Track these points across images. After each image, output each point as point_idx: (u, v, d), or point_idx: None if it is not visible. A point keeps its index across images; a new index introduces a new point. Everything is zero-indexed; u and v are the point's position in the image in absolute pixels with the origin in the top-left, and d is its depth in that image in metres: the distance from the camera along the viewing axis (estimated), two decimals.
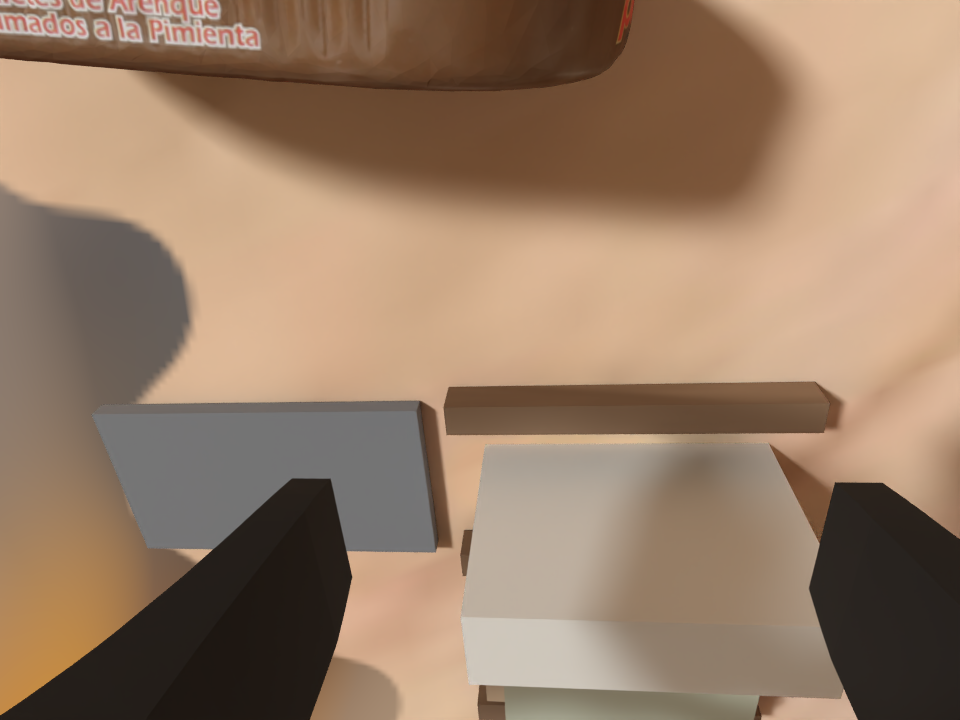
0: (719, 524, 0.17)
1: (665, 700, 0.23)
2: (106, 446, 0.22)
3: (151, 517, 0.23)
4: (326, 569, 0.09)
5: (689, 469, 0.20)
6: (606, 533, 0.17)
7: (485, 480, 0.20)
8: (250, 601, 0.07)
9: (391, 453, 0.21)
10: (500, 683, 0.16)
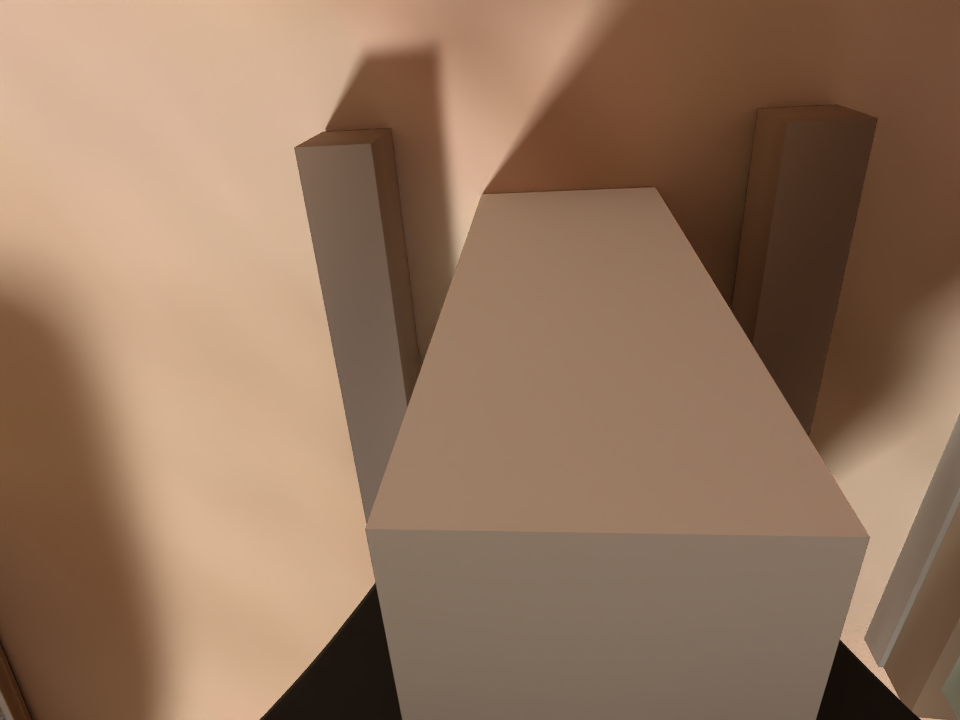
0: None
1: None
2: None
3: None
4: None
5: None
6: None
7: None
8: None
9: None
10: None
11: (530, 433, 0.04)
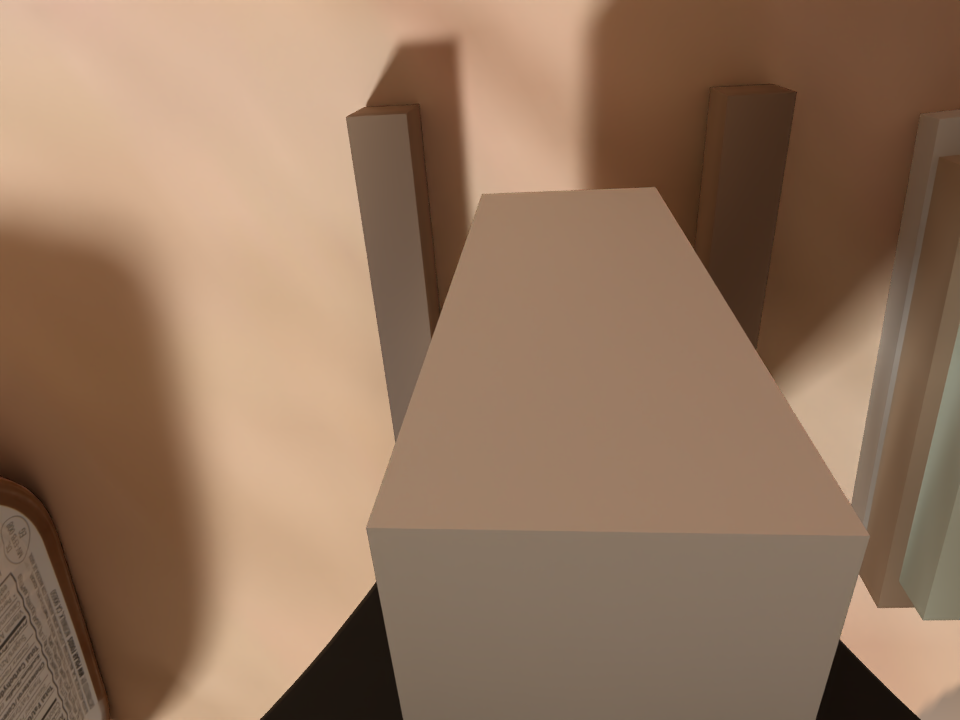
0: None
1: None
2: None
3: None
4: None
5: None
6: None
7: None
8: None
9: None
10: None
11: (530, 431, 0.04)
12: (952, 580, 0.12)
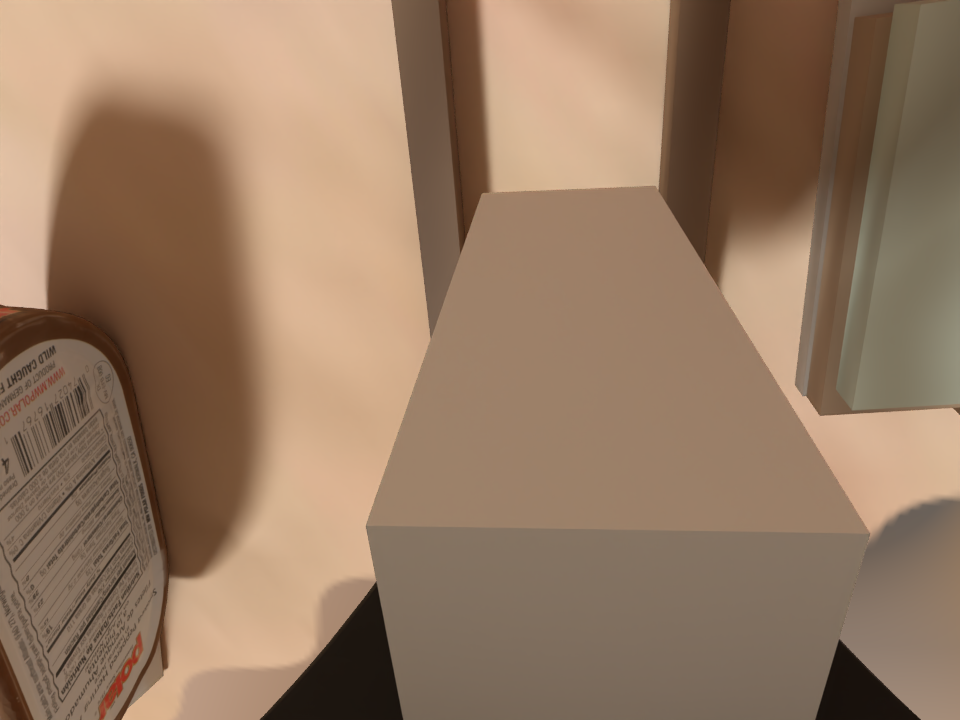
0: None
1: (957, 170, 0.13)
2: None
3: None
4: None
5: None
6: None
7: None
8: None
9: None
10: None
11: (530, 429, 0.04)
12: (873, 370, 0.15)
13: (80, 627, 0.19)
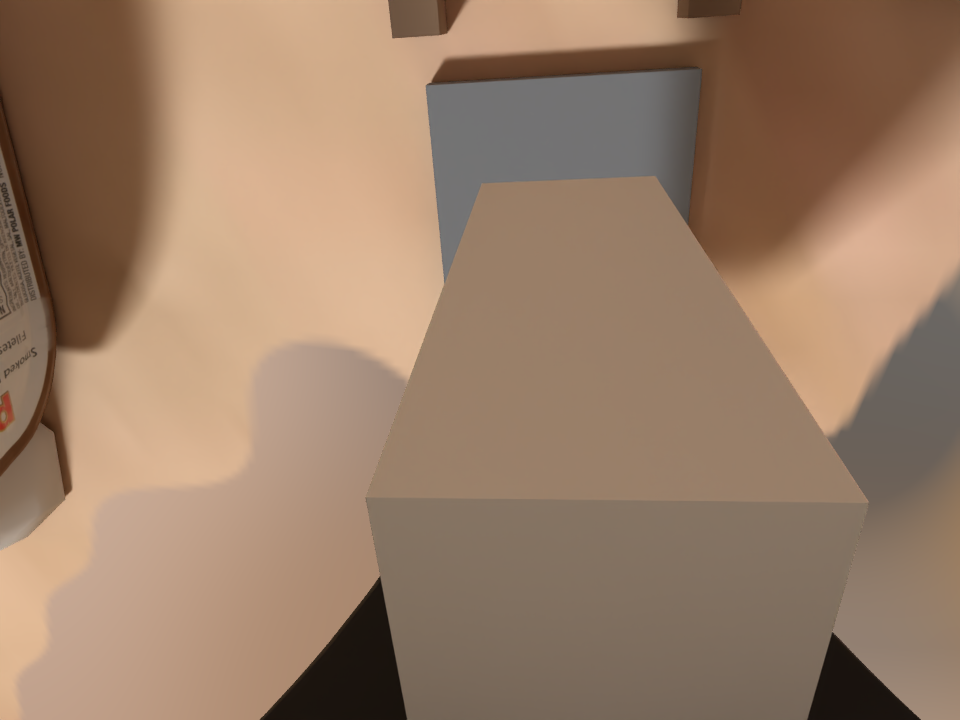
0: None
1: None
2: None
3: None
4: None
5: None
6: None
7: None
8: None
9: (500, 129, 0.15)
10: None
11: (530, 405, 0.04)
12: None
13: None
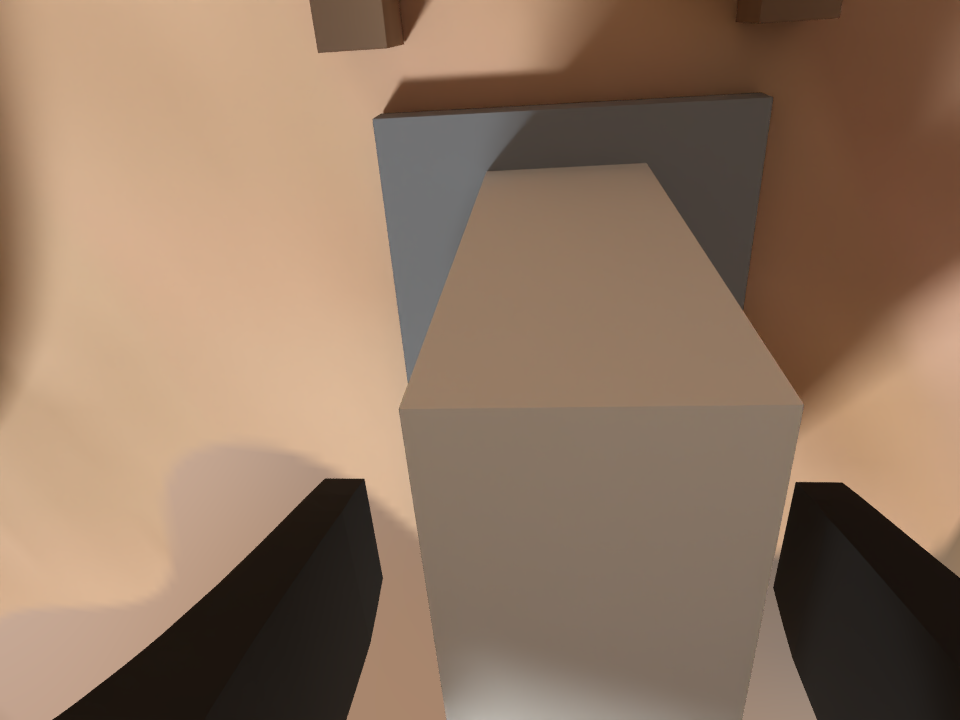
0: None
1: None
2: None
3: None
4: (360, 570, 0.09)
5: None
6: None
7: None
8: (294, 601, 0.07)
9: (480, 180, 0.10)
10: None
11: (531, 344, 0.05)
12: None
13: None
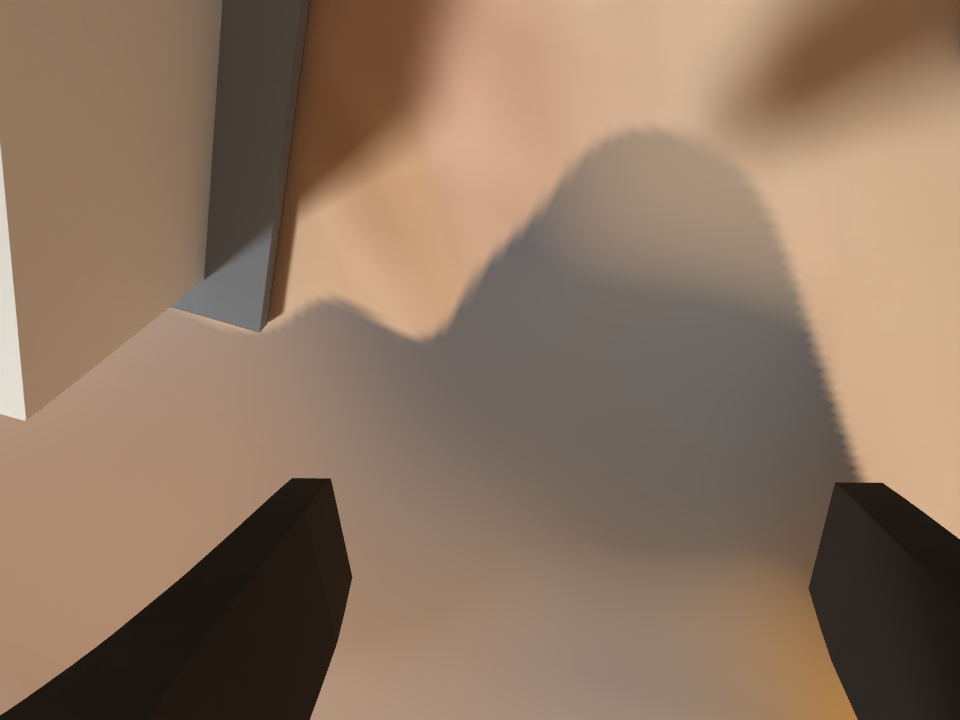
0: None
1: None
2: None
3: (208, 297, 0.18)
4: (326, 569, 0.09)
5: None
6: None
7: None
8: (250, 600, 0.07)
9: None
10: (18, 383, 0.11)
11: None
12: None
13: None
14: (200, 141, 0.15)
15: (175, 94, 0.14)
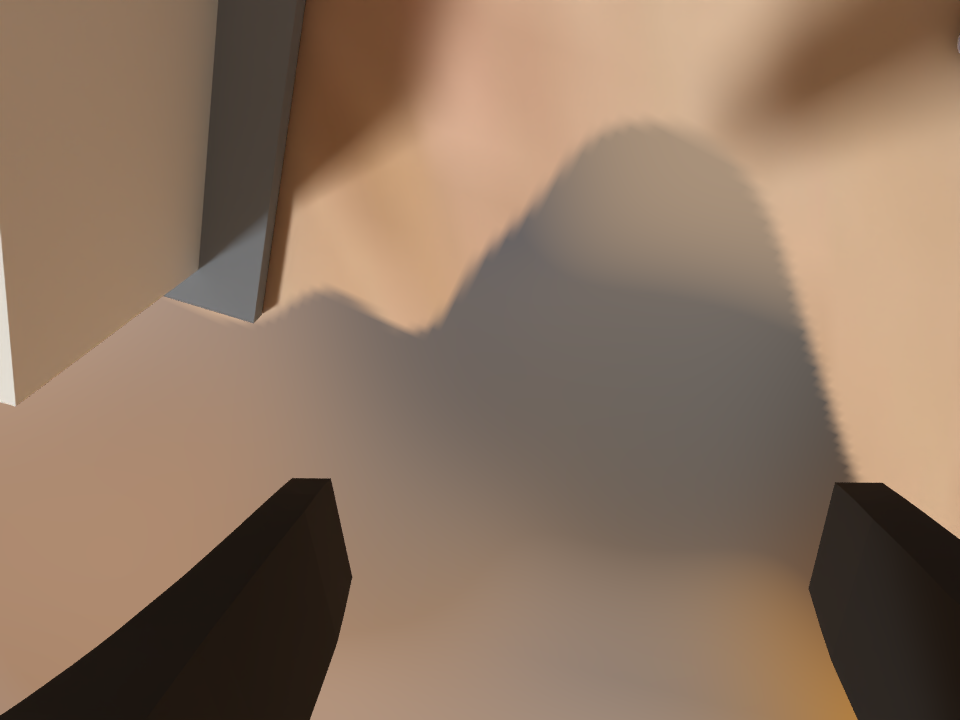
0: None
1: None
2: None
3: (203, 287, 0.18)
4: (326, 569, 0.09)
5: None
6: None
7: None
8: (250, 601, 0.07)
9: None
10: (8, 368, 0.11)
11: None
12: None
13: None
14: (195, 129, 0.15)
15: (170, 81, 0.14)
